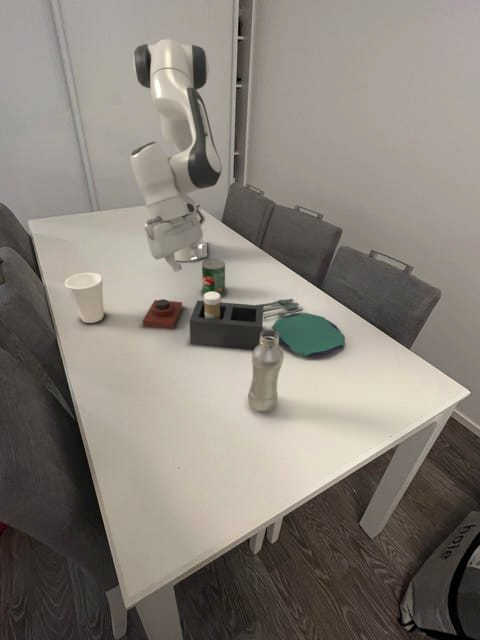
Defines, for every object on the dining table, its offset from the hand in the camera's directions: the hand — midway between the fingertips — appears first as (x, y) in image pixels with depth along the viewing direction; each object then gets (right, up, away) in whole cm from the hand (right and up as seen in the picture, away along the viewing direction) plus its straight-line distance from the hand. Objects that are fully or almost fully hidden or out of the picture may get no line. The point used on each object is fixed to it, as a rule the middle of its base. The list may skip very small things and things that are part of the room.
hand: (187, 265), depth 89 cm
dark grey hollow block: (+10, -19, +9) cm, 24 cm away
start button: (-10, -11, +14) cm, 20 cm away
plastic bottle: (+19, -34, -12) cm, 41 cm away
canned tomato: (+5, -5, +30) cm, 31 cm away
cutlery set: (+32, -17, +14) cm, 39 cm away
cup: (-31, -14, +14) cm, 37 cm away
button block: (-10, -14, +16) cm, 23 cm away
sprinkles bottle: (+6, -19, +9) cm, 22 cm away
